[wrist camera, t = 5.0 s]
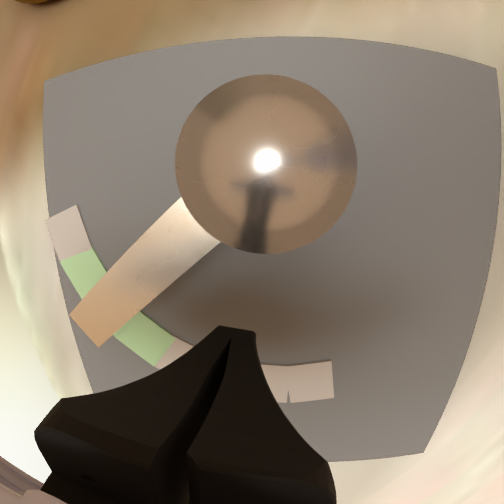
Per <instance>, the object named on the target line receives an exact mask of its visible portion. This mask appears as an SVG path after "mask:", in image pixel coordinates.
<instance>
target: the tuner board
mask: <svg viewBox="0 0 504 504" xmlns="http://www.w3.org/2000/svg"><path fill="white" fill-rule="evenodd" d="M259 74H272V75H279V76H285V77H289V78H293V79H296V80H298V81H301V82H303V83H306V84H308V85H309V86H311V87H313V88H314V89H316V90H318V91H319V92H320V93H322V94H323V95H324V96H325V97H327V98H328V99H329V100H330V101H331V102H332V103H333V104H334V105H335V106H336V108H337V109H338V110H339V112H340V113H341V114H342V116H343V117H344V119H345V121H346V123H347V124H348V126H349V128H350V131H351V134H352V136H353V139H354V143H355V147H356V153H357V177H356V182H355V187H354V190H353V193H352V196H351V199H350V201H349V203H348V205H347V207H346V209H345V211H344V212H343V214H342V215H341V217H340V218H339V219H338V221H337V222H336V223H335V224H334V225H333V226H332V227H331V228H330V229H329V230H328V231H327V232H326V233H325V234H323V235H322V236H321V237H319V238H318V239H316V240H315V241H313V242H311V243H309V244H307V245H305V246H303V247H301V248H298V249H295V250H292V251H288V252H283V253H276V254H256V253H251V252H245V251H242V250H239V249H235V248H233V247H230V246H228V245H226V244H224V243H222V242H220V243H219V244H218V245H216V246H215V247H214V248H213V249H212V250H210V251H209V252H208V253H207V254H206V255H205V256H203V257H202V258H201V259H200V260H199V261H197V262H196V263H195V264H194V265H193V266H192V267H190V268H189V269H188V270H187V271H186V272H184V273H183V274H182V275H181V276H180V277H179V278H177V279H176V280H175V281H174V282H173V283H172V284H170V285H169V286H168V287H167V288H166V289H165V290H163V291H162V292H161V293H160V294H159V295H158V296H157V297H155V298H154V299H153V300H152V301H151V302H150V303H148V304H147V305H146V306H145V307H144V308H143V309H142V310H140V311H139V312H138V313H137V314H136V315H135V316H134V317H132V318H131V319H130V320H129V321H128V322H127V323H126V324H124V325H123V326H122V327H121V328H120V329H119V330H118V331H116V332H115V333H114V334H113V335H112V336H111V337H110V338H109V339H107V340H106V341H105V342H104V343H103V344H102V345H101V346H100V347H99V348H98V347H97V346H96V345H95V343H94V342H93V341H92V340H91V339H90V338H89V337H88V336H87V335H86V334H85V332H84V331H83V330H82V329H81V328H80V327H79V326H78V324H77V323H76V322H75V321H74V320H73V319H72V317H71V316H70V315H69V314H70V313H71V312H72V311H73V310H74V308H75V307H76V306H77V305H78V304H79V303H80V301H81V300H82V299H83V298H84V297H85V296H86V295H87V294H88V292H89V291H90V290H91V289H92V288H93V287H94V286H95V285H96V283H97V282H98V281H99V280H100V279H101V278H102V277H103V276H104V275H105V274H106V273H107V271H108V270H109V269H110V268H111V267H112V266H113V265H114V264H115V263H116V262H117V261H118V260H119V259H120V258H121V257H122V255H123V254H124V253H125V252H126V251H127V250H128V249H129V248H130V247H131V246H132V245H133V244H134V243H135V242H136V241H137V240H138V239H139V238H140V237H141V236H142V235H143V234H144V233H145V232H146V231H147V230H148V229H149V228H150V227H151V226H152V225H153V224H154V223H155V222H156V221H157V220H158V219H159V218H160V217H161V216H162V215H163V214H164V213H165V212H166V211H167V210H168V209H169V208H170V207H171V206H172V205H173V204H174V203H175V202H176V201H177V200H178V199H180V198H181V195H180V192H179V188H178V185H177V181H176V174H175V153H176V146H177V142H178V138H179V135H180V133H181V130H182V128H183V125H184V123H185V122H186V120H187V118H188V116H189V115H190V113H191V112H192V111H193V109H194V108H195V107H196V105H197V104H198V103H199V102H200V101H201V100H202V99H203V98H204V97H206V96H207V95H208V94H209V93H211V92H212V91H213V90H215V89H216V88H218V87H220V86H222V85H223V84H225V83H228V82H230V81H232V80H235V79H238V78H242V77H245V76H251V75H259ZM43 145H44V167H45V181H46V192H47V202H48V210H49V218H48V219H46V220H45V222H46V225H47V228H48V231H49V234H50V237H51V240H52V242H53V245H54V251H55V257H56V262H57V267H58V272H59V277H60V282H61V286H62V290H63V295H64V299H65V303H66V307H67V311H68V315H69V319H70V322H71V326H72V329H73V333H74V336H75V340H76V343H77V346H78V349H79V353H80V356H81V359H82V362H83V365H84V368H85V371H86V374H87V376H88V379H89V382H90V385H91V387H92V390H93V393H99V392H103V391H107V390H111V389H114V388H117V387H120V386H123V385H126V384H129V383H131V382H134V381H136V380H139V379H141V378H144V377H146V376H148V375H151V374H152V373H154V372H156V371H158V370H160V369H162V368H164V367H165V366H167V365H169V364H170V363H172V362H173V361H175V360H176V359H178V358H179V357H181V356H182V355H183V354H185V353H186V352H188V351H189V350H190V349H191V348H193V347H194V346H195V345H196V344H198V343H199V342H200V341H201V340H202V339H204V338H205V337H206V336H207V335H208V334H209V333H210V332H212V331H213V330H214V329H215V328H216V327H217V326H219V325H221V326H226V327H232V328H238V329H244V330H250V331H254V332H255V333H256V346H257V352H258V356H259V360H260V363H261V367H262V370H263V373H264V375H265V378H266V380H267V383H268V385H269V387H270V390H271V392H272V394H273V396H274V397H275V399H276V401H277V403H278V405H279V406H280V408H281V409H282V411H283V413H284V414H285V416H286V417H287V418H288V420H289V421H290V422H291V424H292V425H293V426H294V428H295V429H296V430H297V432H298V433H299V434H300V435H301V436H302V437H303V439H304V440H305V441H306V442H307V443H308V444H309V445H310V446H311V447H312V448H313V449H314V450H315V451H316V452H317V453H318V454H319V455H321V456H322V457H323V458H324V459H325V460H326V461H327V462H338V461H356V460H370V459H380V458H389V457H398V456H405V455H412V454H418V453H423V452H424V450H425V448H426V447H427V445H428V443H429V441H430V439H431V437H432V435H433V433H434V431H435V429H436V427H437V425H438V422H439V420H440V418H441V416H442V414H443V412H444V409H445V407H446V405H447V403H448V400H449V398H450V396H451V393H452V391H453V388H454V386H455V383H456V381H457V378H458V375H459V373H460V370H461V367H462V365H463V362H464V359H465V356H466V353H467V350H468V347H469V344H470V341H471V338H472V335H473V331H474V328H475V324H476V321H477V317H478V314H479V310H480V306H481V302H482V298H483V294H484V290H485V285H486V281H487V276H488V271H489V266H490V261H491V255H492V249H493V243H494V237H495V230H496V222H497V213H498V203H499V191H500V174H501V117H500V101H499V89H498V79H497V71H496V68H493V67H490V66H487V65H484V64H480V63H477V62H473V61H470V60H466V59H463V58H459V57H455V56H451V55H447V54H443V53H438V52H434V51H429V50H424V49H419V48H414V47H408V46H402V45H396V44H389V43H382V42H374V41H365V40H355V39H343V38H327V37H255V38H239V39H227V40H217V41H208V42H200V43H192V44H185V45H179V46H173V47H167V48H161V49H156V50H151V51H146V52H141V53H137V54H133V55H128V56H124V57H120V58H116V59H112V60H108V61H105V62H101V63H98V64H94V65H91V66H87V67H84V68H81V69H78V70H75V71H72V72H69V73H66V74H63V75H60V76H57V77H54V78H52V79H49V80H46V81H44V100H43Z"/></svg>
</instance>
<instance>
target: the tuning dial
mask: <svg viewBox="0 0 504 504" xmlns="http://www.w3.org/2000/svg"><path fill="white" fill-rule="evenodd" d="M175 174H176V181H177V185H178V188H179V192H180V195H181V198H180V199H178V200H177V201H176V202H175V203H174V204H173V205H172V206H171V207H170V208H169V209H168V210H167V211H166V212H165V213H164V214H163V215H162V216H161V217H160V218H159V219H158V220H157V221H156V222H155V223H154V224H153V225H152V226H151V227H150V228H149V229H148V230H147V231H146V232H145V233H144V234H143V235H142V236H141V237H140V238H139V239H138V240H137V241H136V242H135V243H134V244H133V245H132V246H131V247H130V248H129V249H128V250H127V251H126V252H125V253H124V254H123V255H122V257H121V258H120V259H119V260H118V261H117V262H116V263H115V264H114V265H113V266H112V267H111V268H110V269H109V270H108V271H107V273H106V274H105V275H104V276H103V277H102V278H101V279H100V280H99V281H98V282H97V283H96V285H95V286H94V287H93V288H92V289H91V290H90V291H89V292H88V294H87V295H86V296H85V297H84V298H83V299H82V300H81V301H80V303H79V304H78V305H77V306H76V307H75V308H74V310H73V311H72V312H71V313H70V314H69V315H70V316H71V317H72V319H73V320H74V321H75V322H76V323H77V324H78V326H79V327H80V328H81V329H82V330H83V331H84V332H85V334H86V335H87V336H88V337H89V338H90V339H91V340H92V341H93V342H94V343H95V345H96V346H97V347H98V348H99V347H100V346H101V345H102V344H103V343H104V342H105V341H106V340H107V339H109V338H110V337H111V336H112V335H113V334H114V333H115V332H116V331H118V330H119V329H120V328H121V327H122V326H123V325H124V324H126V323H127V322H128V321H129V320H130V319H131V318H132V317H134V316H135V315H136V314H137V313H138V312H139V311H140V310H142V309H143V308H144V307H145V306H146V305H147V304H148V303H150V302H151V301H152V300H153V299H154V298H155V297H157V296H158V295H159V294H160V293H161V292H162V291H163V290H165V289H166V288H167V287H168V286H169V285H170V284H172V283H173V282H174V281H175V280H176V279H177V278H179V277H180V276H181V275H182V274H183V273H184V272H186V271H187V270H188V269H189V268H190V267H192V266H193V265H194V264H195V263H196V262H197V261H199V260H200V259H201V258H202V257H203V256H205V255H206V254H207V253H208V252H209V251H210V250H212V249H213V248H214V247H215V246H216V245H218V244H219V243H220V242H222V243H224V244H226V245H228V246H230V247H233V248H235V249H239V250H242V251H245V252H251V253H256V254H276V253H283V252H288V251H292V250H295V249H298V248H301V247H303V246H305V245H307V244H309V243H311V242H313V241H315V240H316V239H318V238H319V237H321V236H322V235H323V234H325V233H326V232H327V231H328V230H329V229H330V228H331V227H332V226H333V225H334V224H335V223H336V222H337V221H338V219H339V218H340V217H341V215H342V214H343V212H344V211H345V209H346V207H347V205H348V203H349V201H350V199H351V196H352V193H353V190H354V187H355V182H356V177H357V153H356V147H355V143H354V139H353V136H352V134H351V131H350V128H349V126H348V124H347V123H346V121H345V119H344V117H343V116H342V114H341V113H340V112H339V110H338V109H337V108H336V106H335V105H334V104H333V103H332V102H331V101H330V100H329V99H328V98H327V97H325V96H324V95H323V94H322V93H320V92H319V91H318V90H316V89H314V88H313V87H311V86H309V85H308V84H306V83H303V82H301V81H298V80H296V79H293V78H289V77H285V76H279V75H272V74H259V75H251V76H245V77H242V78H238V79H235V80H232V81H230V82H228V83H225V84H223V85H222V86H220V87H218V88H216V89H215V90H213V91H212V92H211V93H209V94H208V95H207V96H206V97H204V98H203V99H202V100H201V101H200V102H199V103H198V104H197V105H196V107H195V108H194V109H193V111H192V112H191V113H190V115H189V116H188V118H187V120H186V122H185V123H184V125H183V128H182V130H181V133H180V135H179V138H178V142H177V146H176V153H175Z"/></svg>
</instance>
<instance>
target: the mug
mask: <svg viewBox="0 0 504 504" xmlns="http://www.w3.org/2000/svg"><path fill="white" fill-rule="evenodd" d="M16 1H18V2H22V3H28V4H36V3H42V2H45V1H47V0H16Z"/></svg>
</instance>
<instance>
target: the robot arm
mask: <svg viewBox="0 0 504 504" xmlns="http://www.w3.org/2000/svg"><path fill="white" fill-rule="evenodd" d="M34 433H35V441H36V443H37V445H38V448H39V450H40V451H41V453H42V455H43V457H44V458H45V460H46V462H47V464H48V465H49V467H50V469H51V470H52V473H51V474H50V476H49V477H48V479H47V480H46V482H45V483H44V484H43V483H41V482H40V481H38V480H36V479H34V478H33V477H31V476H30V475H28V474H26V473H25V472H23V471H22V470H20V469H18V468H17V467H15V466H14V465H12V464H11V463H9V462H8V461H6V460H5V459H4V458H2V457H1V456H0V504H336V490H335V485H334V481H333V477H332V473H331V470H330V467H329V464H328V462H327V461H326V460H325V459H324V458H323V457H322V456H321V455H319V454H318V453H317V452H316V451H315V450H314V449H313V448H312V447H311V446H310V445H309V444H308V443H307V442H306V441H305V440H304V439H303V437H302V436H301V435H300V434H299V433H298V432H297V430H296V429H295V428H294V426H293V425H292V424H291V422H290V421H289V420H288V418H287V417H286V416H285V414H284V413H283V411H282V409H281V408H280V406H279V405H278V403H277V401H276V399H275V397H274V396H273V394H272V392H271V390H270V387H269V385H268V383H267V380H266V378H265V375H264V373H263V370H262V367H261V363H260V360H259V356H258V352H257V346H256V333H255V332H254V331H250V330H244V329H238V328H232V327H226V326H221V325H219V326H217V327H216V328H215V329H214V330H213V331H212V332H210V333H209V334H208V335H207V336H206V337H205V338H204V339H202V340H201V341H200V342H199V343H198V344H196V345H195V346H194V347H193V348H191V349H190V350H189V351H188V352H186V353H185V354H183V355H182V356H181V357H179V358H178V359H176V360H175V361H173V362H172V363H170V364H169V365H167V366H165V367H164V368H162V369H160V370H158V371H156V372H154V373H152V374H151V375H148V376H146V377H144V378H141V379H139V380H136V381H134V382H131V383H129V384H126V385H123V386H120V387H117V388H114V389H111V390H107V391H103V392H99V393H94V394H89V395H83V396H76V397H70V398H62V399H61V400H60V401H59V402H58V403H57V404H56V405H55V406H54V407H53V408H52V410H51V411H50V412H49V413H48V414H47V416H46V417H45V418H44V419H43V421H42V422H41V423H40V424H39V426H38V427H37V428H36V430H35V431H34Z"/></svg>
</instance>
